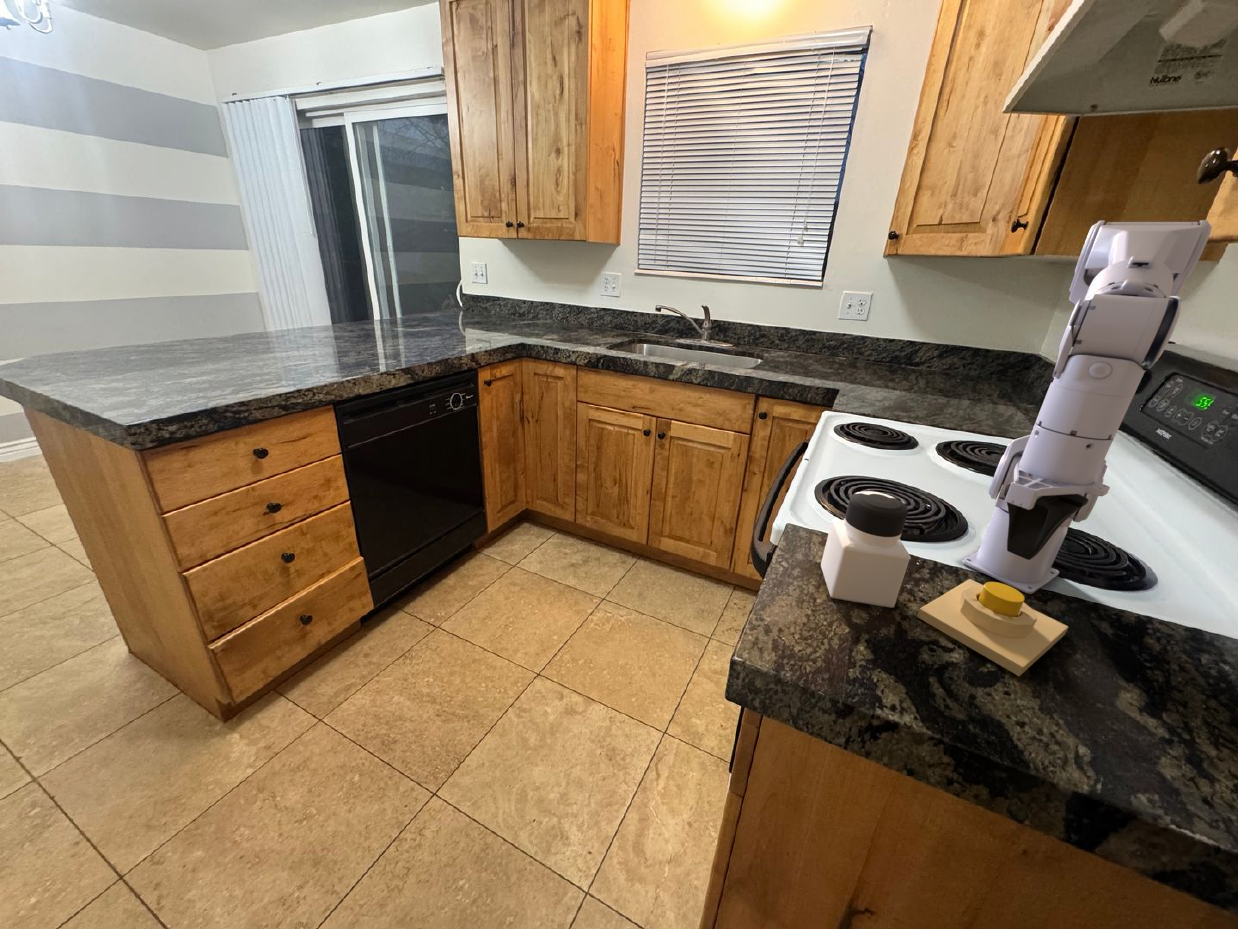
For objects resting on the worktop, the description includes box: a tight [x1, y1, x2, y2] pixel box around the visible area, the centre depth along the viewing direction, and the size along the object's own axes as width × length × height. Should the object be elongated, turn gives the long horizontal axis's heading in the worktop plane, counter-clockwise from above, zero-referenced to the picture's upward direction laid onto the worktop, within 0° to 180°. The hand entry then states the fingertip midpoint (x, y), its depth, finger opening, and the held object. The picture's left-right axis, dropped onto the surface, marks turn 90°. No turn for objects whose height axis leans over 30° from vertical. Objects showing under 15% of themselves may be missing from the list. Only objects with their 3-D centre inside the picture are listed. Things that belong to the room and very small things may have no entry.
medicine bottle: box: [820, 490, 912, 609], centre depth 58 cm, size 7×7×12 cm
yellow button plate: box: [916, 578, 1069, 677], centre depth 55 cm, size 12×10×3 cm
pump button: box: [978, 581, 1026, 617], centre depth 54 cm, size 4×4×2 cm
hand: (1020, 553), depth 52 cm, fingers closed
